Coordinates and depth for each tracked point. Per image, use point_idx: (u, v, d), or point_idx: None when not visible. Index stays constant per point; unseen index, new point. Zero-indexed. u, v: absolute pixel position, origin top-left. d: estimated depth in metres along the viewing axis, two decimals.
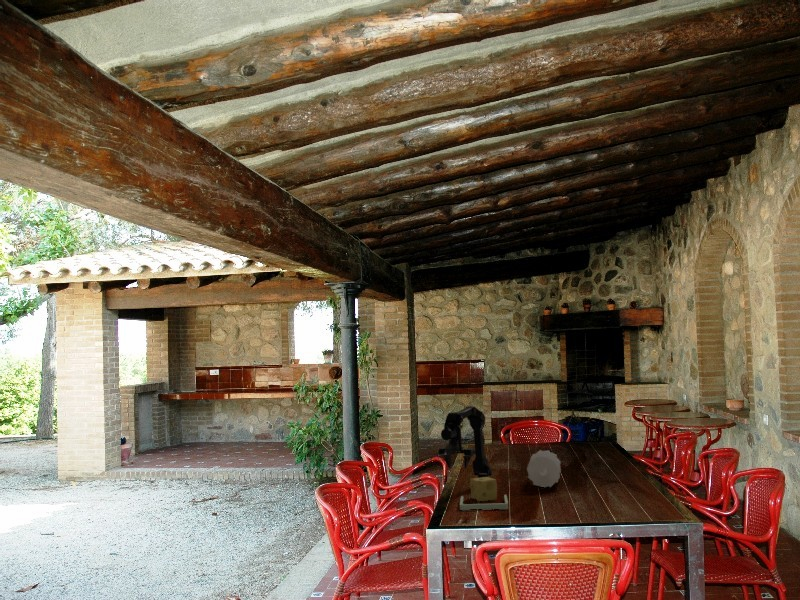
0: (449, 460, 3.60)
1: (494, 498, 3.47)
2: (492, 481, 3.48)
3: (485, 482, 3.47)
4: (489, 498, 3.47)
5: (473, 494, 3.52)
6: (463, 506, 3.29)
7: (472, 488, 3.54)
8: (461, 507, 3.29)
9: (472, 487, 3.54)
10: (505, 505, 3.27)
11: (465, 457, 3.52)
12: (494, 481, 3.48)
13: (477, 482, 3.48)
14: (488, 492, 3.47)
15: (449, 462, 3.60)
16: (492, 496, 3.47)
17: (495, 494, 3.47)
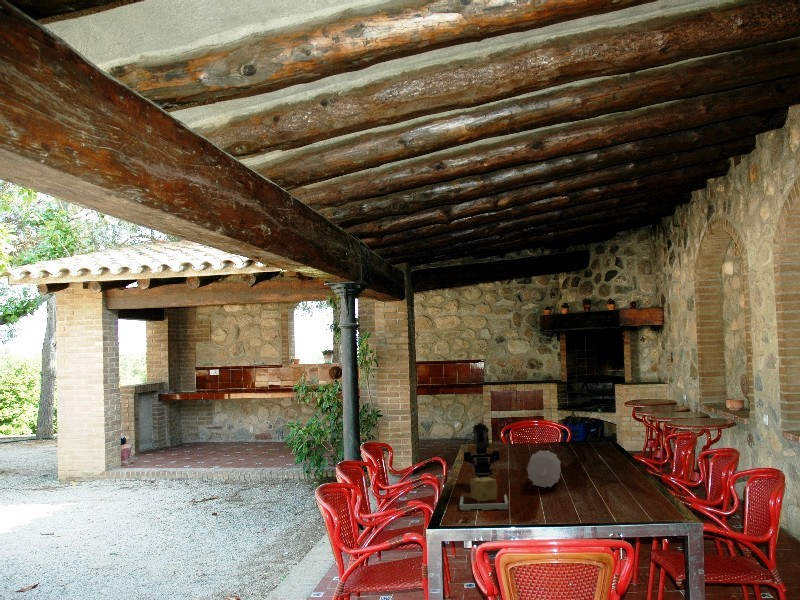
0: (474, 464, 3.66)
1: (494, 498, 3.47)
2: (492, 481, 3.48)
3: (485, 482, 3.47)
4: (489, 498, 3.47)
5: (473, 494, 3.52)
6: (463, 506, 3.29)
7: (472, 488, 3.54)
8: (461, 507, 3.29)
9: (472, 487, 3.54)
10: (505, 505, 3.27)
11: (491, 456, 3.64)
12: (494, 481, 3.48)
13: (477, 482, 3.48)
14: (488, 492, 3.47)
15: (475, 465, 3.65)
16: (492, 496, 3.47)
17: (495, 494, 3.47)
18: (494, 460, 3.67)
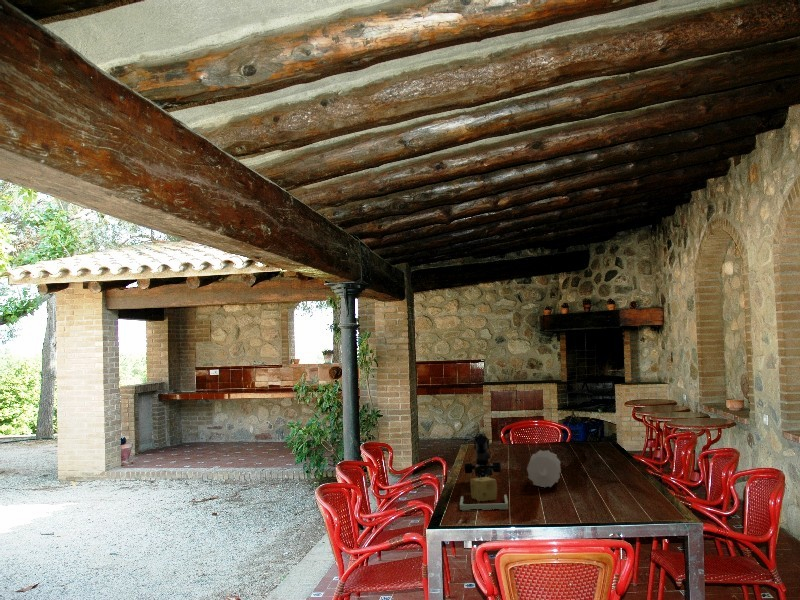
0: None
1: (494, 498, 3.47)
2: (492, 481, 3.48)
3: (485, 482, 3.47)
4: (489, 498, 3.47)
5: (473, 494, 3.52)
6: (463, 506, 3.29)
7: (472, 488, 3.54)
8: (461, 507, 3.29)
9: (472, 487, 3.54)
10: (505, 505, 3.27)
11: (485, 468, 3.64)
12: (494, 481, 3.48)
13: (477, 482, 3.48)
14: (488, 492, 3.47)
15: (482, 476, 3.64)
16: (492, 496, 3.47)
17: (495, 494, 3.47)
18: (488, 472, 3.67)
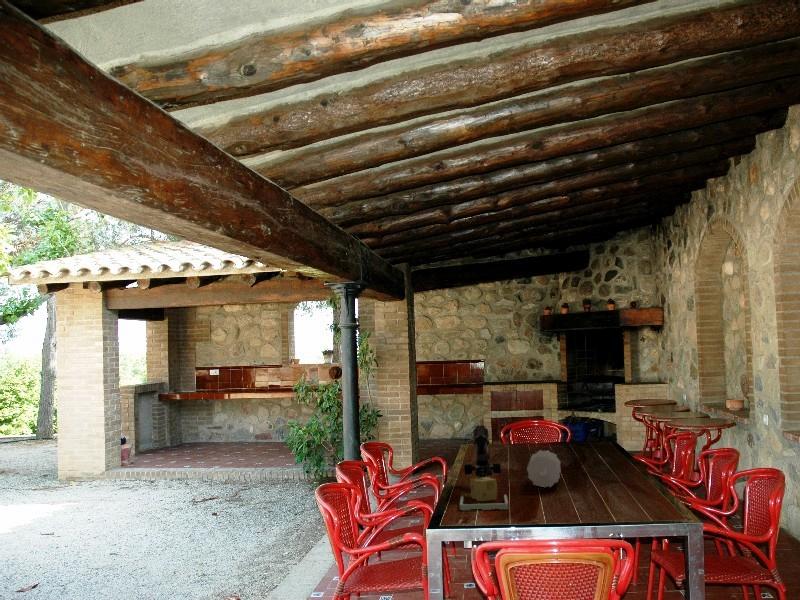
0: (482, 476, 3.61)
1: (494, 498, 3.47)
2: (492, 481, 3.48)
3: (485, 482, 3.47)
4: (489, 498, 3.47)
5: (473, 494, 3.52)
6: (463, 506, 3.29)
7: (472, 488, 3.54)
8: (461, 507, 3.29)
9: (472, 487, 3.54)
10: (505, 505, 3.27)
11: (485, 469, 3.60)
12: (494, 481, 3.48)
13: (477, 482, 3.48)
14: (488, 492, 3.47)
15: None
16: (492, 496, 3.47)
17: (495, 494, 3.47)
18: (488, 473, 3.63)
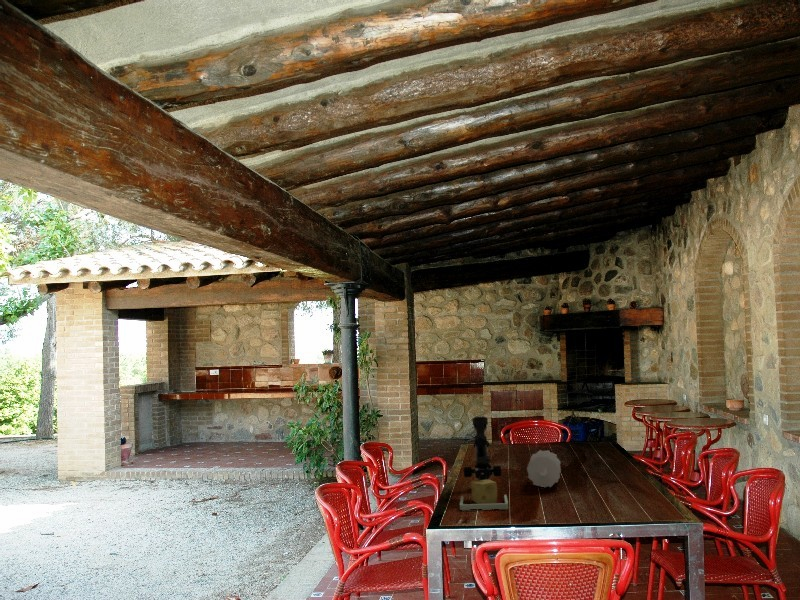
0: (482, 479, 3.53)
1: (494, 501, 3.40)
2: (492, 484, 3.40)
3: (485, 485, 3.40)
4: (489, 501, 3.39)
5: (473, 497, 3.45)
6: (463, 506, 3.29)
7: (473, 491, 3.48)
8: (461, 507, 3.29)
9: (473, 490, 3.48)
10: (505, 505, 3.27)
11: (485, 472, 3.53)
12: (494, 484, 3.40)
13: (477, 485, 3.42)
14: (488, 495, 3.39)
15: None
16: (491, 499, 3.40)
17: (495, 497, 3.40)
18: (488, 476, 3.56)
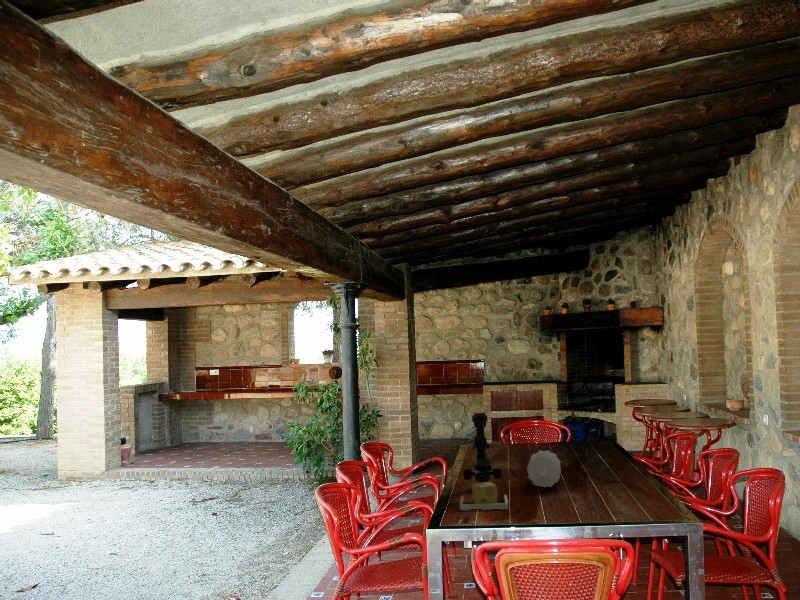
0: (482, 482, 3.47)
1: None
2: (492, 487, 3.34)
3: (484, 488, 3.34)
4: None
5: (474, 499, 3.40)
6: (463, 506, 3.29)
7: (473, 493, 3.42)
8: (461, 507, 3.29)
9: (473, 492, 3.42)
10: (505, 505, 3.27)
11: (485, 474, 3.47)
12: (494, 487, 3.34)
13: (476, 487, 3.36)
14: (487, 498, 3.34)
15: None
16: (491, 502, 3.34)
17: (495, 500, 3.34)
18: (488, 478, 3.50)
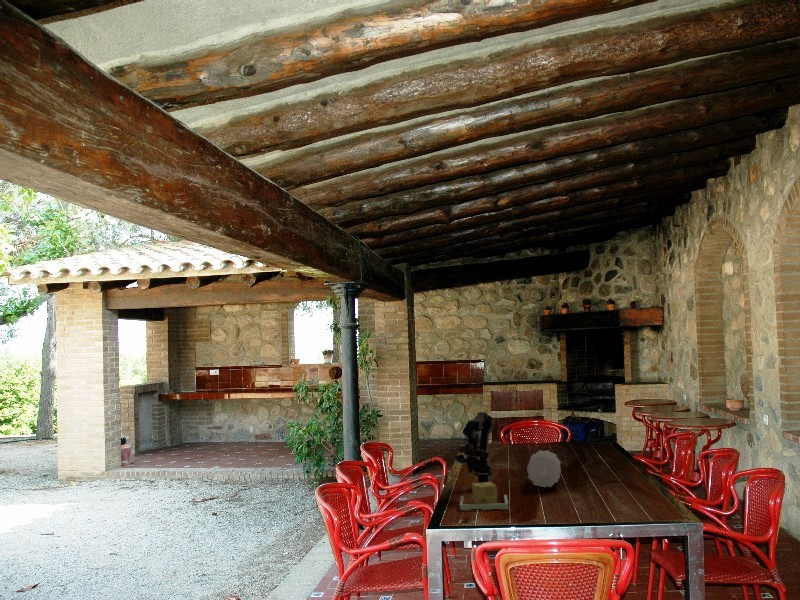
0: None
1: None
2: (492, 487, 3.34)
3: (484, 488, 3.34)
4: None
5: (474, 499, 3.40)
6: (463, 506, 3.29)
7: (473, 493, 3.42)
8: (461, 507, 3.29)
9: (473, 492, 3.42)
10: (505, 505, 3.27)
11: (470, 459, 3.58)
12: (494, 487, 3.34)
13: (476, 487, 3.36)
14: (487, 498, 3.34)
15: None
16: (491, 502, 3.34)
17: (495, 500, 3.34)
18: (477, 460, 3.60)
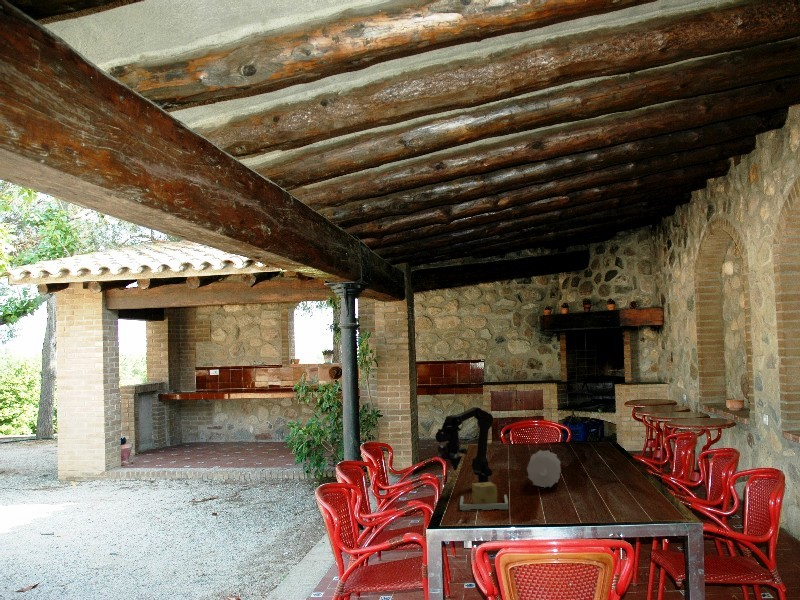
0: None
1: None
2: (492, 487, 3.34)
3: (484, 488, 3.34)
4: None
5: (474, 499, 3.40)
6: (463, 506, 3.29)
7: (473, 493, 3.42)
8: (461, 507, 3.29)
9: (473, 492, 3.42)
10: (505, 505, 3.27)
11: None
12: (494, 487, 3.34)
13: (476, 487, 3.36)
14: (487, 498, 3.34)
15: None
16: (491, 502, 3.34)
17: (495, 500, 3.34)
18: (454, 458, 3.64)
